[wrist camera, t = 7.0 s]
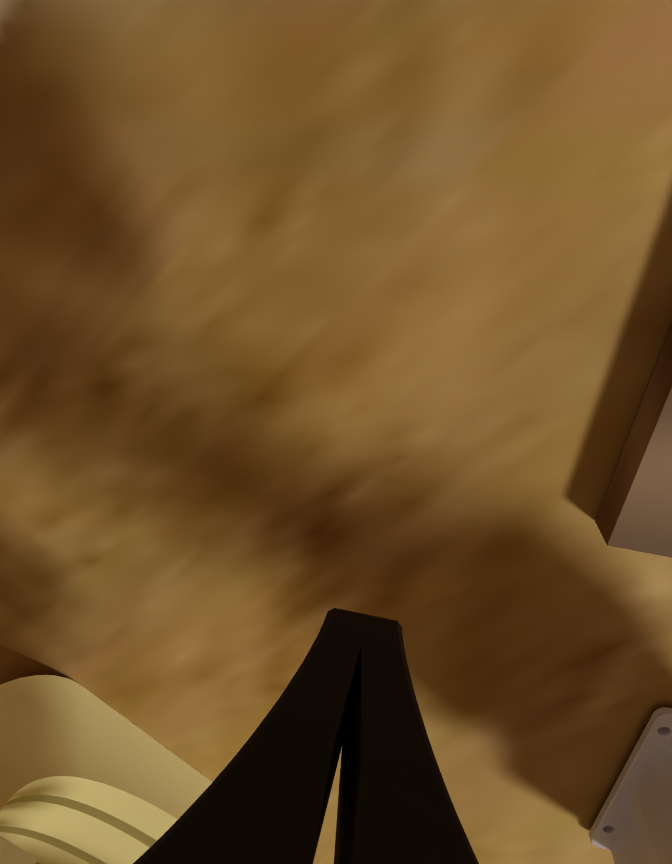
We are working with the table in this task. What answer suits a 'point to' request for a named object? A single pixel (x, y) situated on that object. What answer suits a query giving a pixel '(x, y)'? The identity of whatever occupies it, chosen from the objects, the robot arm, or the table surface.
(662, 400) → the brown flat slab
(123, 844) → the slatted curved stool
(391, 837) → the robot arm
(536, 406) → the table surface
